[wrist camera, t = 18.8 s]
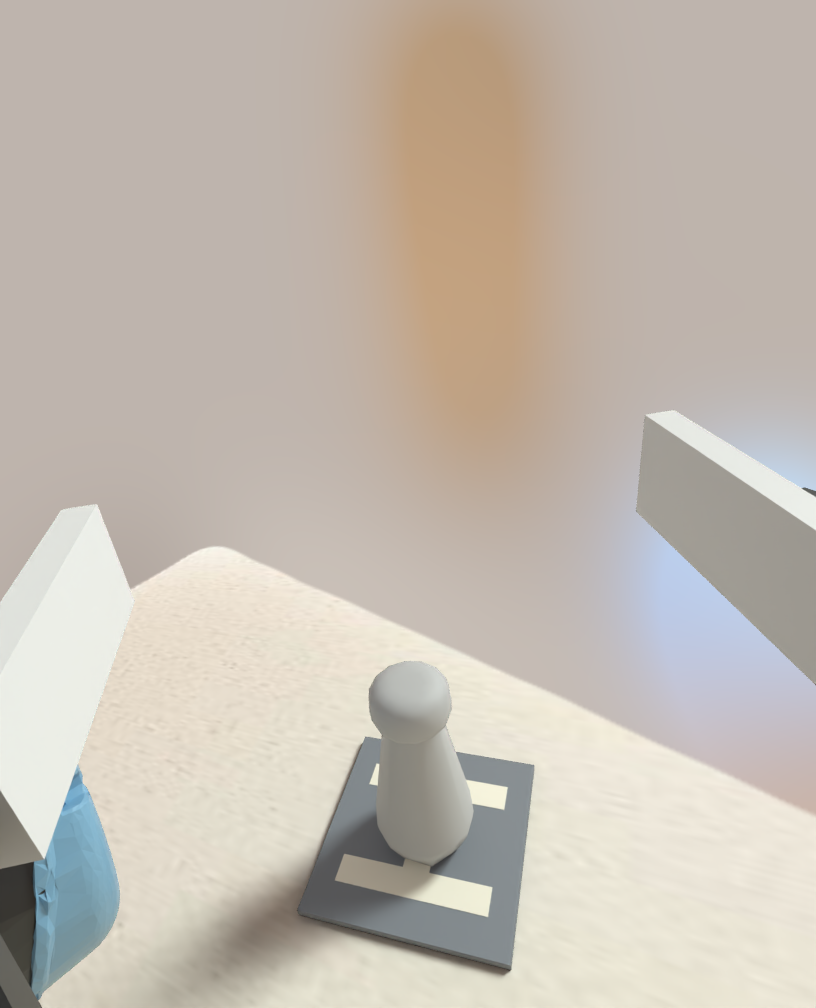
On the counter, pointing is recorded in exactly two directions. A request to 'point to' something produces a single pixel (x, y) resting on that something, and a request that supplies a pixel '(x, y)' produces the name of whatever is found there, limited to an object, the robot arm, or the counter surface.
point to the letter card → (428, 867)
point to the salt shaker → (418, 764)
